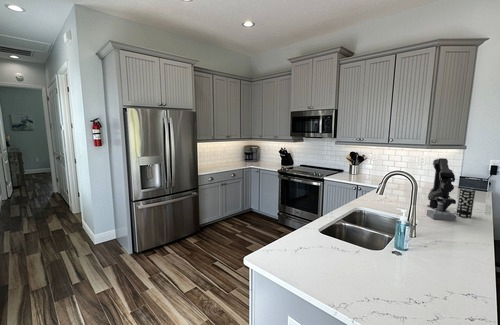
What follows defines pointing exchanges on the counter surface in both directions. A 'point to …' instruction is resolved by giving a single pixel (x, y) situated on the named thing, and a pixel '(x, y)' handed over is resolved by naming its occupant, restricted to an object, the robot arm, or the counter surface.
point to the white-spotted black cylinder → (465, 203)
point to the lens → (440, 207)
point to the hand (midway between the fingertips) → (441, 209)
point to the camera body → (441, 215)
